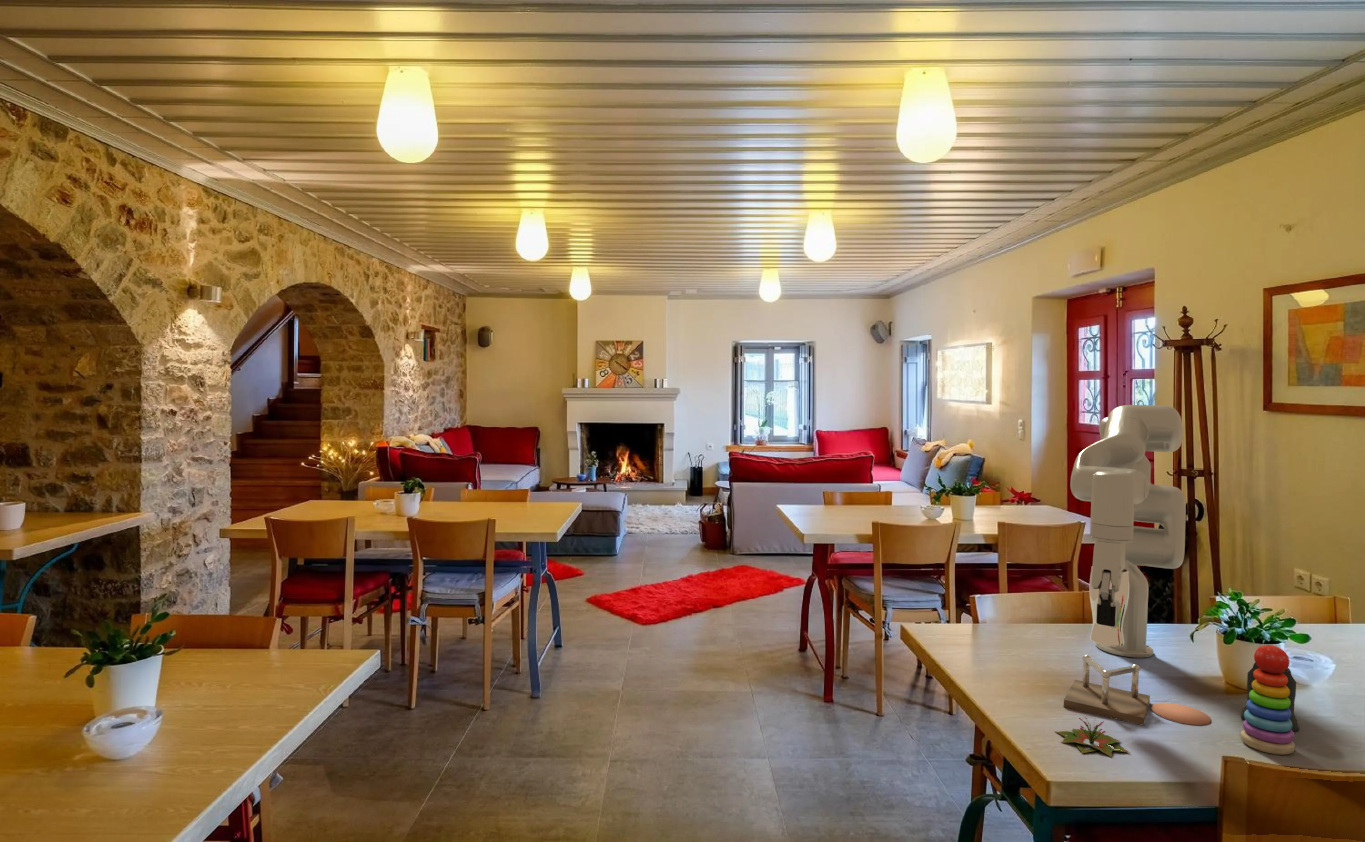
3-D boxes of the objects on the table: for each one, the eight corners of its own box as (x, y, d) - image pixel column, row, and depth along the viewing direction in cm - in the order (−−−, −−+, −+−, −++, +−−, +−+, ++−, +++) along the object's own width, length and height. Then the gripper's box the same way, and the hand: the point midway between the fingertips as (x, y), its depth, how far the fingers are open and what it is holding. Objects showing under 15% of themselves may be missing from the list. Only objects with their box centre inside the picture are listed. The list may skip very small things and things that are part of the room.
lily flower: (1078, 761, 131) (1079, 735, 131) (1042, 731, 143) (1042, 707, 143) (1144, 761, 132) (1145, 735, 132) (1102, 730, 144) (1103, 707, 144)
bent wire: (1082, 684, 162) (1083, 653, 162) (1139, 696, 156) (1140, 664, 156) (1074, 698, 154) (1076, 665, 154) (1134, 711, 148) (1136, 677, 148)
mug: (1299, 737, 142) (1302, 678, 141) (1239, 723, 147) (1241, 666, 147) (1299, 717, 151) (1301, 662, 150) (1242, 705, 157) (1245, 651, 156)
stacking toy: (1228, 737, 141) (1233, 638, 141) (1268, 736, 142) (1272, 638, 141) (1265, 757, 133) (1269, 652, 133) (1306, 756, 134) (1311, 652, 133)
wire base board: (1074, 686, 165) (1074, 679, 165) (1149, 702, 157) (1149, 695, 157) (1063, 706, 154) (1063, 699, 153) (1143, 725, 145) (1143, 717, 145)
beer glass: (1132, 649, 148) (1135, 573, 147) (1094, 646, 149) (1096, 571, 148) (1119, 638, 154) (1122, 565, 154) (1082, 635, 156) (1085, 563, 155)
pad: (1153, 700, 158) (1153, 698, 158) (1211, 712, 152) (1211, 711, 152) (1149, 715, 150) (1149, 714, 150) (1210, 729, 144) (1210, 728, 144)
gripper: (1096, 525, 160) (1093, 608, 161) (1083, 536, 146) (1080, 627, 147) (1137, 529, 156) (1133, 614, 156) (1128, 541, 142) (1124, 635, 142)
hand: (1107, 620), depth 152 cm, fingers closed on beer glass, 6 cm apart
